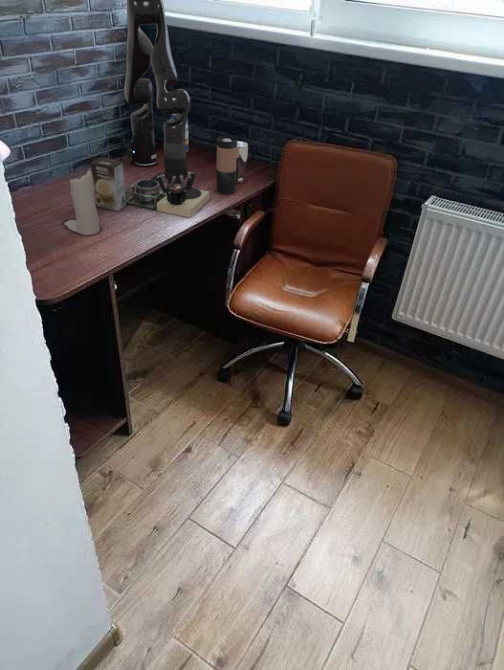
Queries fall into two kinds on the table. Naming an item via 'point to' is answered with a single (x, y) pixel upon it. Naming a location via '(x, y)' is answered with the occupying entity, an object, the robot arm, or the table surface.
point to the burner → (192, 193)
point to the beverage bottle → (185, 131)
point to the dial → (177, 197)
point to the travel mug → (226, 164)
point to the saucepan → (148, 190)
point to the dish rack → (140, 198)
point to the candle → (84, 206)
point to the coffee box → (109, 183)
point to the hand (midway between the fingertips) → (176, 201)
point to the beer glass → (241, 161)
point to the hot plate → (184, 205)
